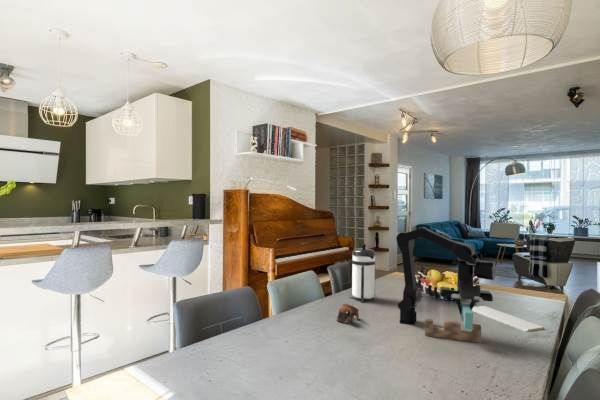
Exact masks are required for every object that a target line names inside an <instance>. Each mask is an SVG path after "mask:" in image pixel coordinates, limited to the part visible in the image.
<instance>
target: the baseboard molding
mask: <svg viewBox="0 0 600 400" xmlns="http://www.w3.org/2000/svg"><path fill="white" fill-rule="evenodd" d="M475 312H476V313H475ZM472 313H475V314H478V315H480V316H484V317H486V318H488V319H491V320H494V321H495V322H496V321H497V322H499V323H502V324H505V325H508V326H510V327H512V328H515V329H517V330H521V331H523V332H525V333H526V332H533V331H539V330H545V327H544V326H542V325H539V324H537V323H533V322H530V321H528V320H525V319H523V318H519V317H518V316H517V317H516V316H514V315H511V314H509V313H506V312H502V311H500V310H497V309H495V308H491V307H488V306H485V305H484V303H483V304H480V305H479V306H478V303H475V305H474V306H473V309H472Z"/></svg>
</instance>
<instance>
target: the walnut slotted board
mask: <svg viewBox="0 0 600 400" xmlns="http://www.w3.org/2000/svg"><path fill="white" fill-rule="evenodd" d="M424 336H426V337H435V338H440V337H442V338H441V339H448V338H449V339H450V340H455V339H457V340H456V341H463V340H465V342H471V341H472V342H471V343H473V342H474V343H479V344H481V343H482V325H481V324H477V323H473V330H471V331H470V330H463V329H462V324H461V322H459V321H451V320H443V327H437V326H434V319H432V318H424ZM449 339H448V340H449Z"/></svg>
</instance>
